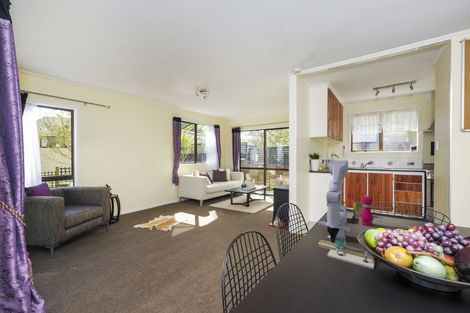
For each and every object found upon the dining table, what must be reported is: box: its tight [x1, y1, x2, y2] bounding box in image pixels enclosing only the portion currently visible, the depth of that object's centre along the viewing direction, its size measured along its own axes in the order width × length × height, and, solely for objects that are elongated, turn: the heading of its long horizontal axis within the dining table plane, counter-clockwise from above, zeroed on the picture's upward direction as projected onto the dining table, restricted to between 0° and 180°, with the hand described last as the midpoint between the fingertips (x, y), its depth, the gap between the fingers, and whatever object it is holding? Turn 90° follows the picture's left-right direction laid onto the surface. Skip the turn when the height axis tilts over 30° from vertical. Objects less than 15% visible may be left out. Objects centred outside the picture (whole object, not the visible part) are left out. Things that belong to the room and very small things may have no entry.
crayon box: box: [352, 200, 364, 217], centre depth 163 cm, size 7×3×12 cm, turn 99°
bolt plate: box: [326, 249, 375, 270], centre depth 97 cm, size 7×18×1 cm, turn 54°
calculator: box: [346, 212, 356, 225], centre depth 154 cm, size 11×4×15 cm
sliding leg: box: [335, 237, 347, 254], centre depth 104 cm, size 10×4×4 cm, turn 144°
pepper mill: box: [360, 194, 374, 227], centre depth 142 cm, size 7×7×20 cm
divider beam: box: [317, 239, 375, 261], centre depth 103 cm, size 11×24×5 cm, turn 54°
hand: (333, 242), depth 108 cm, fingers closed
